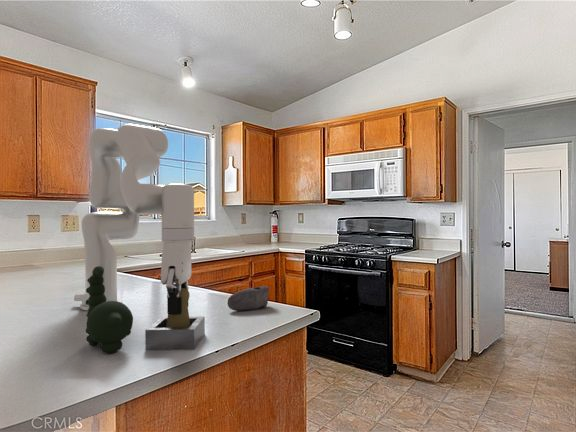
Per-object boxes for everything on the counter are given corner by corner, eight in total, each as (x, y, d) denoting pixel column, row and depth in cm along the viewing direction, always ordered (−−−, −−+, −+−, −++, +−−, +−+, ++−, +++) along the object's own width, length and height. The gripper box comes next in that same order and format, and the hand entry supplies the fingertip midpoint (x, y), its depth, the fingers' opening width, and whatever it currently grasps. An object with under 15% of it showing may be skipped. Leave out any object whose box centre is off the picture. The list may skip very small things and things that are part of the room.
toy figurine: (75, 342, 96) (94, 364, 76) (74, 267, 97) (91, 269, 77) (115, 335, 102) (142, 354, 82) (113, 264, 103) (139, 265, 83)
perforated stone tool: (230, 314, 117) (230, 291, 117) (224, 310, 122) (224, 288, 122) (274, 308, 124) (274, 287, 124) (267, 305, 129) (267, 284, 129)
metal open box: (145, 349, 86) (145, 329, 86) (161, 334, 97) (161, 316, 97) (194, 349, 86) (194, 329, 86) (204, 334, 97) (204, 316, 97)
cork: (194, 330, 95) (194, 286, 94) (185, 338, 89) (185, 291, 88) (171, 329, 95) (171, 285, 95) (160, 337, 89) (160, 290, 89)
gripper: (173, 233, 100) (173, 302, 100) (149, 237, 83) (150, 321, 83) (201, 233, 100) (201, 302, 100) (184, 237, 83) (184, 321, 83)
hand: (178, 310), depth 92 cm, fingers closed on cork, 5 cm apart
